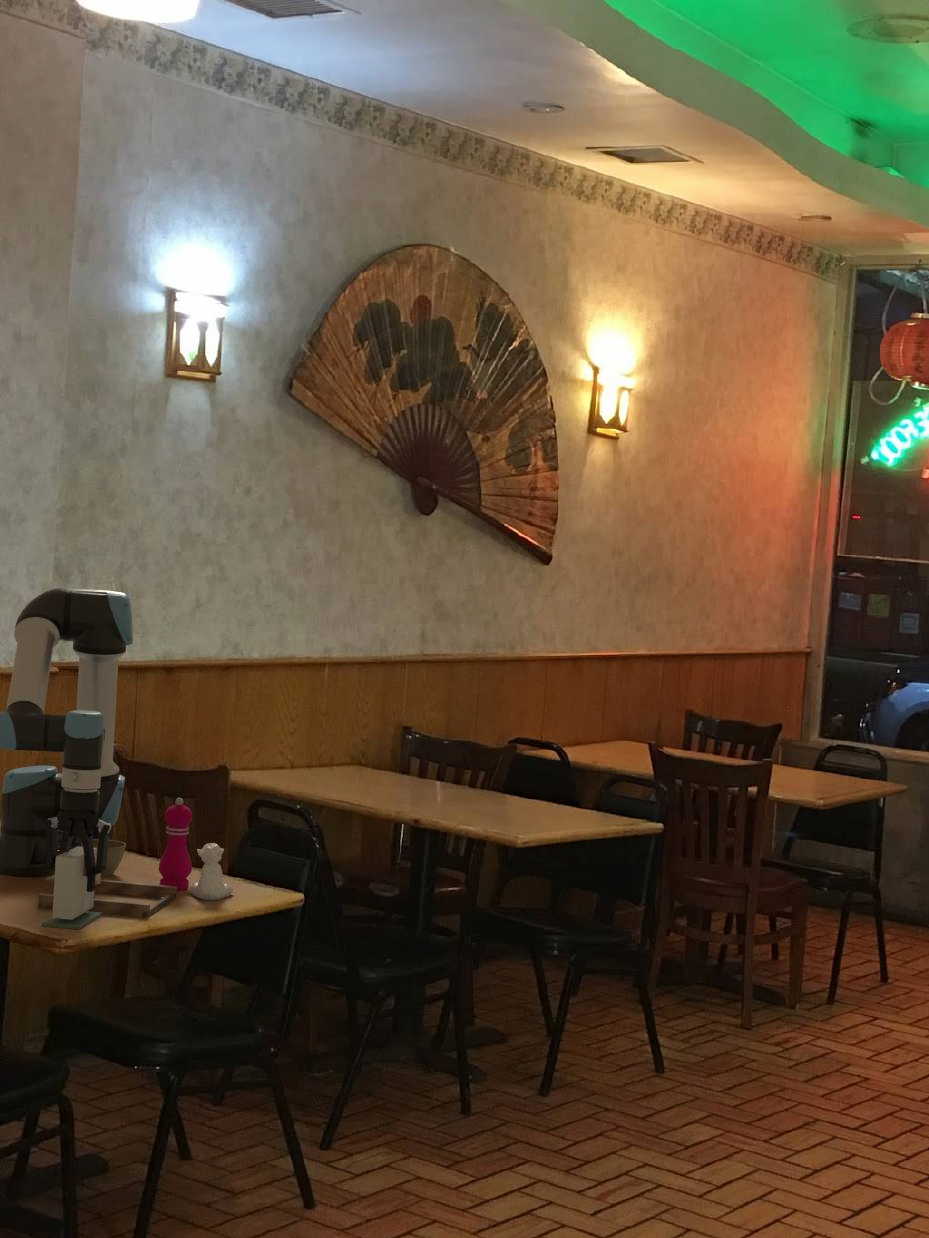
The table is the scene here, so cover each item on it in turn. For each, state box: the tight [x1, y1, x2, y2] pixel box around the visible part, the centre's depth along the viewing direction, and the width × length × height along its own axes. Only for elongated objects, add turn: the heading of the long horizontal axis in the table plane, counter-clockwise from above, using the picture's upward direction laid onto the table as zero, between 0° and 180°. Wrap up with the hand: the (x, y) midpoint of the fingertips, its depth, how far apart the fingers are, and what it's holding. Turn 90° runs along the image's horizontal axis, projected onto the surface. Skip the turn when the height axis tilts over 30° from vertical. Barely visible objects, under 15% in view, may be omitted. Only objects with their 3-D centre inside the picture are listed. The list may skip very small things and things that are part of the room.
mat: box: [41, 911, 104, 930], centre depth 328 cm, size 8×14×1 cm, turn 173°
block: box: [51, 846, 97, 920], centre depth 328 cm, size 4×12×12 cm, turn 173°
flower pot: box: [81, 839, 127, 878], centre depth 374 cm, size 10×10×7 cm
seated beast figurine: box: [189, 842, 234, 901], centre depth 358 cm, size 10×9×12 cm
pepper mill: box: [158, 797, 193, 891], centre depth 365 cm, size 7×7×20 cm
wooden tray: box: [37, 879, 178, 918], centre depth 346 cm, size 23×20×2 cm
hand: (73, 906), depth 328 cm, fingers closed on block, 4 cm apart
